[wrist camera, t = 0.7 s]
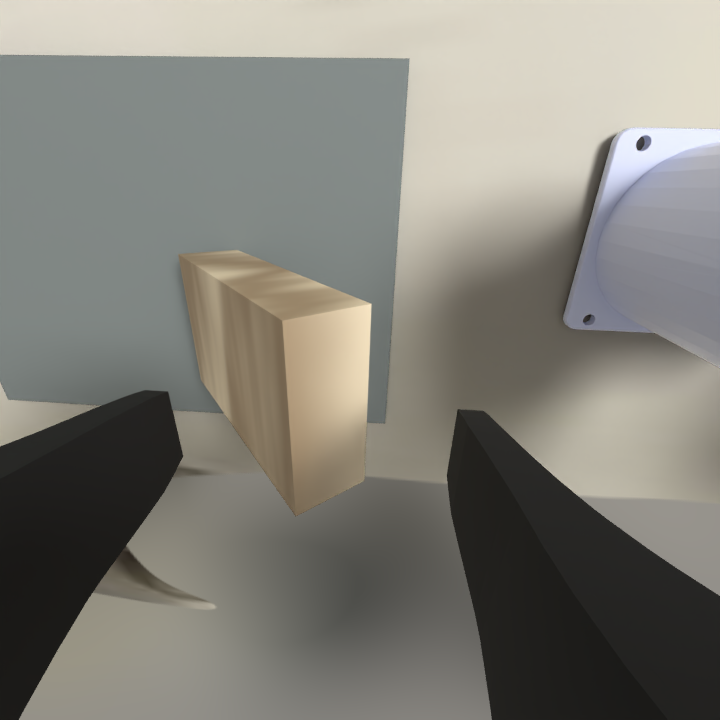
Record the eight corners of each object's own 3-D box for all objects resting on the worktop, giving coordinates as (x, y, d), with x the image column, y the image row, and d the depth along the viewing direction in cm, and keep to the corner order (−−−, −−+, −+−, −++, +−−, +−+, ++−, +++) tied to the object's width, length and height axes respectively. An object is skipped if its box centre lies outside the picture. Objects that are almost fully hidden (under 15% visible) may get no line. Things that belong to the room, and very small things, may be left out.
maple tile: (237, 249, 17) (371, 303, 9) (250, 367, 19) (364, 481, 12) (178, 254, 15) (282, 320, 8) (201, 380, 18) (295, 516, 11)
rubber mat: (408, 62, 14) (409, 58, 13) (385, 418, 21) (385, 423, 20) (-131, 57, 15) (-148, 53, 14) (16, 395, 22) (8, 399, 21)
